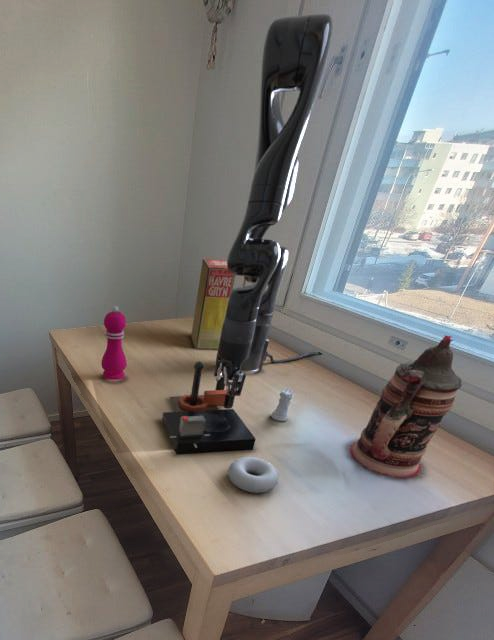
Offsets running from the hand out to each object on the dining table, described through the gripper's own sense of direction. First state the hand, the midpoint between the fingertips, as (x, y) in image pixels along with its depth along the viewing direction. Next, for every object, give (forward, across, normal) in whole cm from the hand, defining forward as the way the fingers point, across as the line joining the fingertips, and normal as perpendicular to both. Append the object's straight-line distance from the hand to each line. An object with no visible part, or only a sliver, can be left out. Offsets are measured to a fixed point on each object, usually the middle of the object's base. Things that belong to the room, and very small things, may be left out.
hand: (222, 401), depth 109 cm
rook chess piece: (+2, -9, -12) cm, 15 cm away
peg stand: (+1, 0, +8) cm, 8 cm away
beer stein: (+2, -28, -27) cm, 39 cm away
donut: (+2, -32, +5) cm, 32 cm away
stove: (+2, -15, +10) cm, 18 cm away
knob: (-1, -19, +15) cm, 24 cm away
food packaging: (+2, +47, -11) cm, 48 cm away
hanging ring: (0, 0, +5) cm, 5 cm away
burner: (-1, -13, +8) cm, 15 cm away
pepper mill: (+2, +20, +26) cm, 33 cm away
